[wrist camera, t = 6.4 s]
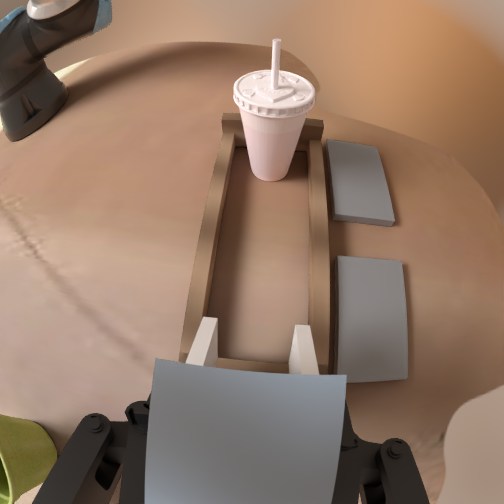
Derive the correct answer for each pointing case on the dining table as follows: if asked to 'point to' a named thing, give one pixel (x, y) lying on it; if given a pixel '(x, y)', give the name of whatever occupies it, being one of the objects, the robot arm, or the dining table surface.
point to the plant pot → (23, 457)
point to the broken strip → (366, 273)
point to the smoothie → (272, 115)
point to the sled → (248, 383)
